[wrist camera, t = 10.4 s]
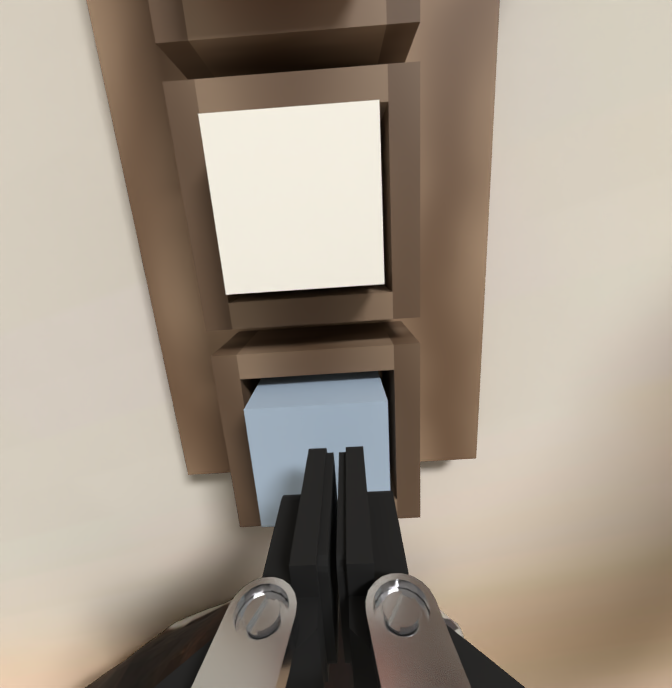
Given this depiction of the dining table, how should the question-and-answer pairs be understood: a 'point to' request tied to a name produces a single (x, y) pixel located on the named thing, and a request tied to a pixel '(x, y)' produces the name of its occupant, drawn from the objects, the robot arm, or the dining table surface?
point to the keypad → (397, 207)
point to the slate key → (314, 430)
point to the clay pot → (187, 638)
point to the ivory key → (296, 195)
